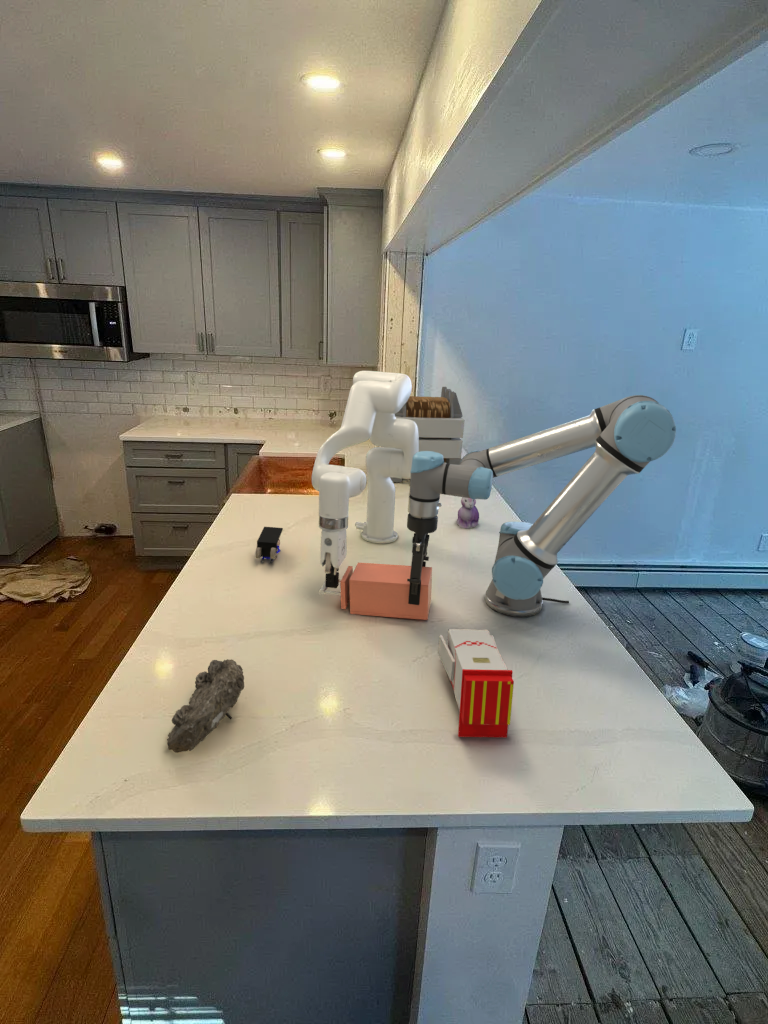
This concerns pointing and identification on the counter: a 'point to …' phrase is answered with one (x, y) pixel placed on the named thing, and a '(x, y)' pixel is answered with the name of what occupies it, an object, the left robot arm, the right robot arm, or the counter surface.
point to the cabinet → (388, 591)
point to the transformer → (436, 424)
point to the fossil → (206, 705)
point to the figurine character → (268, 543)
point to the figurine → (468, 513)
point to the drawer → (344, 588)
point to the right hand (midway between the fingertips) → (416, 593)
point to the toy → (478, 682)
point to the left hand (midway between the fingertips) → (332, 586)
